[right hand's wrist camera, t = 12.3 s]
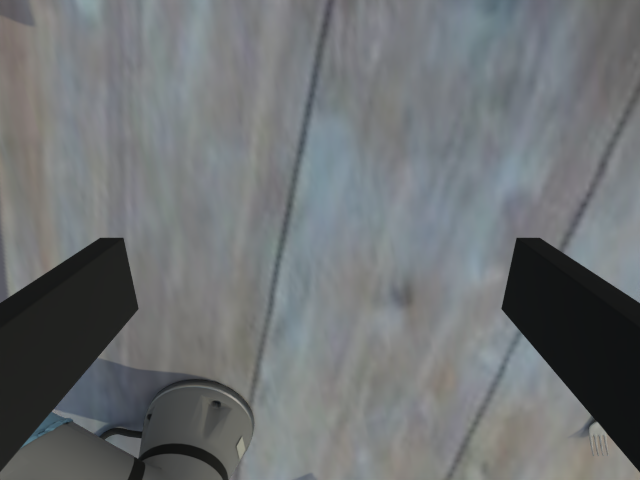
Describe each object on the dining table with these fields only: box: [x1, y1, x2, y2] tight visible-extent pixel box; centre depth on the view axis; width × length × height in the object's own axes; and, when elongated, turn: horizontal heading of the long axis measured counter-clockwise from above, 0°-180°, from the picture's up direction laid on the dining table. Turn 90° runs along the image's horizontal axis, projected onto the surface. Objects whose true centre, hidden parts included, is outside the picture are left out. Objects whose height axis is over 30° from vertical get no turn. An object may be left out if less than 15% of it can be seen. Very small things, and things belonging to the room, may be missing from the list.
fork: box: [589, 421, 609, 456], centre depth 51 cm, size 3×16×2 cm, turn 2°
